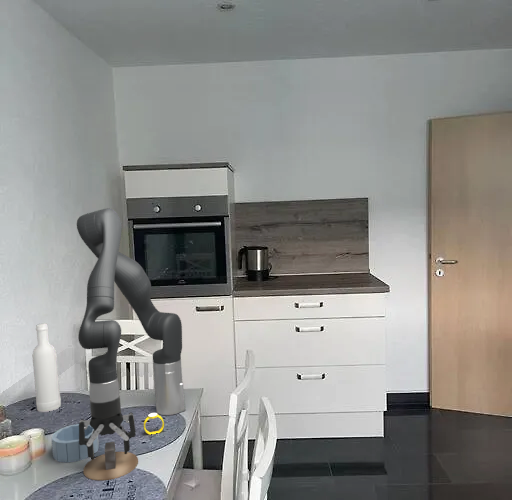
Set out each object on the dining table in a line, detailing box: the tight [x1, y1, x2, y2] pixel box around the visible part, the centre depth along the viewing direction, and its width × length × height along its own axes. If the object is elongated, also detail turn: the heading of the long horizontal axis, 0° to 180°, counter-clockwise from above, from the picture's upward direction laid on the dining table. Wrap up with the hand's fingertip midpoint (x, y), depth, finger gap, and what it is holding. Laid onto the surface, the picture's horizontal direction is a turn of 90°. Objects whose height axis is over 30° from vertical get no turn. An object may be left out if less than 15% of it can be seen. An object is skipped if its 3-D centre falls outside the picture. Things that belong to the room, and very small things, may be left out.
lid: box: [83, 441, 139, 482], centre depth 131 cm, size 14×14×6 cm
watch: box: [143, 412, 165, 436], centre depth 149 cm, size 6×3×6 cm, turn 107°
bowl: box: [51, 423, 100, 464], centre depth 140 cm, size 12×12×6 cm
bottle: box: [31, 322, 62, 413], centre depth 173 cm, size 8×8×30 cm
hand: (109, 455), depth 131 cm, fingers open, 8 cm apart
